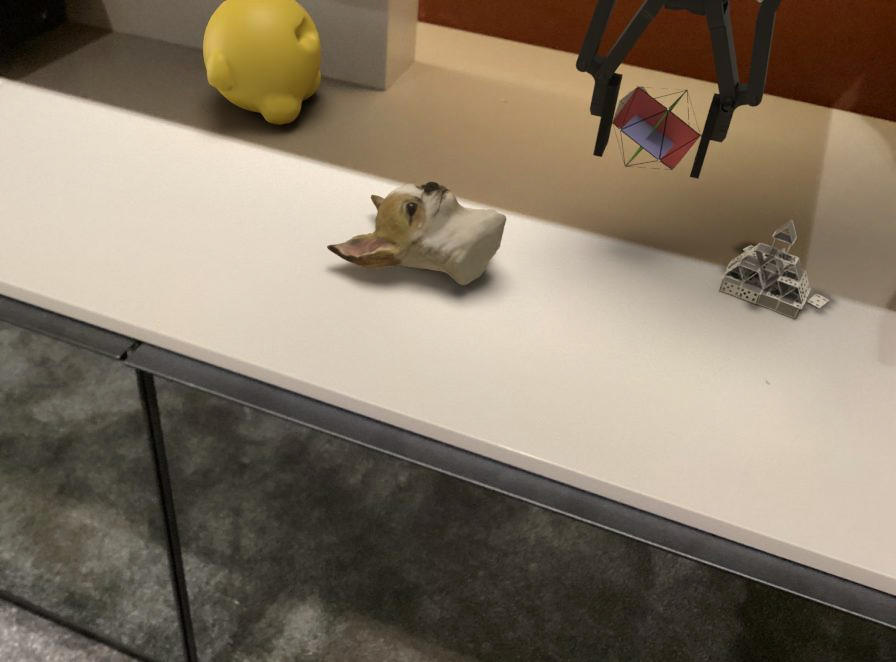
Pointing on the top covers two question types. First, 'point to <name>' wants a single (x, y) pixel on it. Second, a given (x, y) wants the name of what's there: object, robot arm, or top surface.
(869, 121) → the top surface
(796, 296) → the house of cards
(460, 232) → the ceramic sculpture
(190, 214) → the top surface
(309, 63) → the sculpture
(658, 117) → the geometric puzzle
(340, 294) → the top surface
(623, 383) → the top surface
